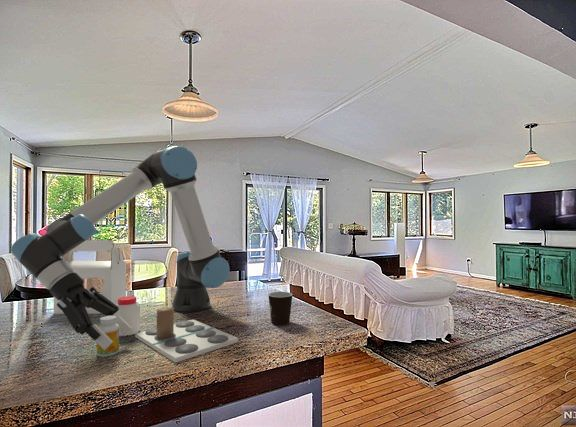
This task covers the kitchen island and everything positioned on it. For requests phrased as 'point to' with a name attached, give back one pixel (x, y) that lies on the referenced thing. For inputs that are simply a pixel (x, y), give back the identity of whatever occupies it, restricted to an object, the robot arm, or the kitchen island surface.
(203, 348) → the board
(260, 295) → the kitchen island surface
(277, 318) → the coffee mug
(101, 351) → the supplement bottle
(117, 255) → the gable box
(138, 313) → the pill bottle
